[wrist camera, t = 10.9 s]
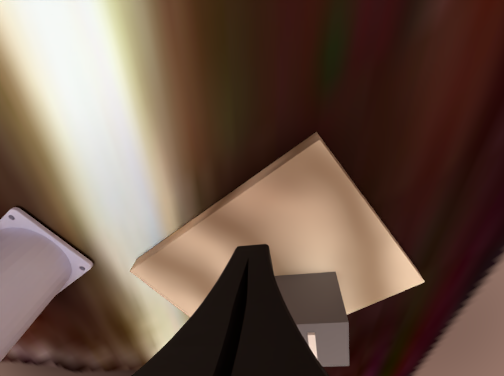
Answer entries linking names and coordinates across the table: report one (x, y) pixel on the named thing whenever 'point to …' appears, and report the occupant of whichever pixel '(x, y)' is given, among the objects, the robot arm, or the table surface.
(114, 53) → the table surface
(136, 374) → the robot arm
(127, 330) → the table surface
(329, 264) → the board
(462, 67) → the table surface
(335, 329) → the grey cube
